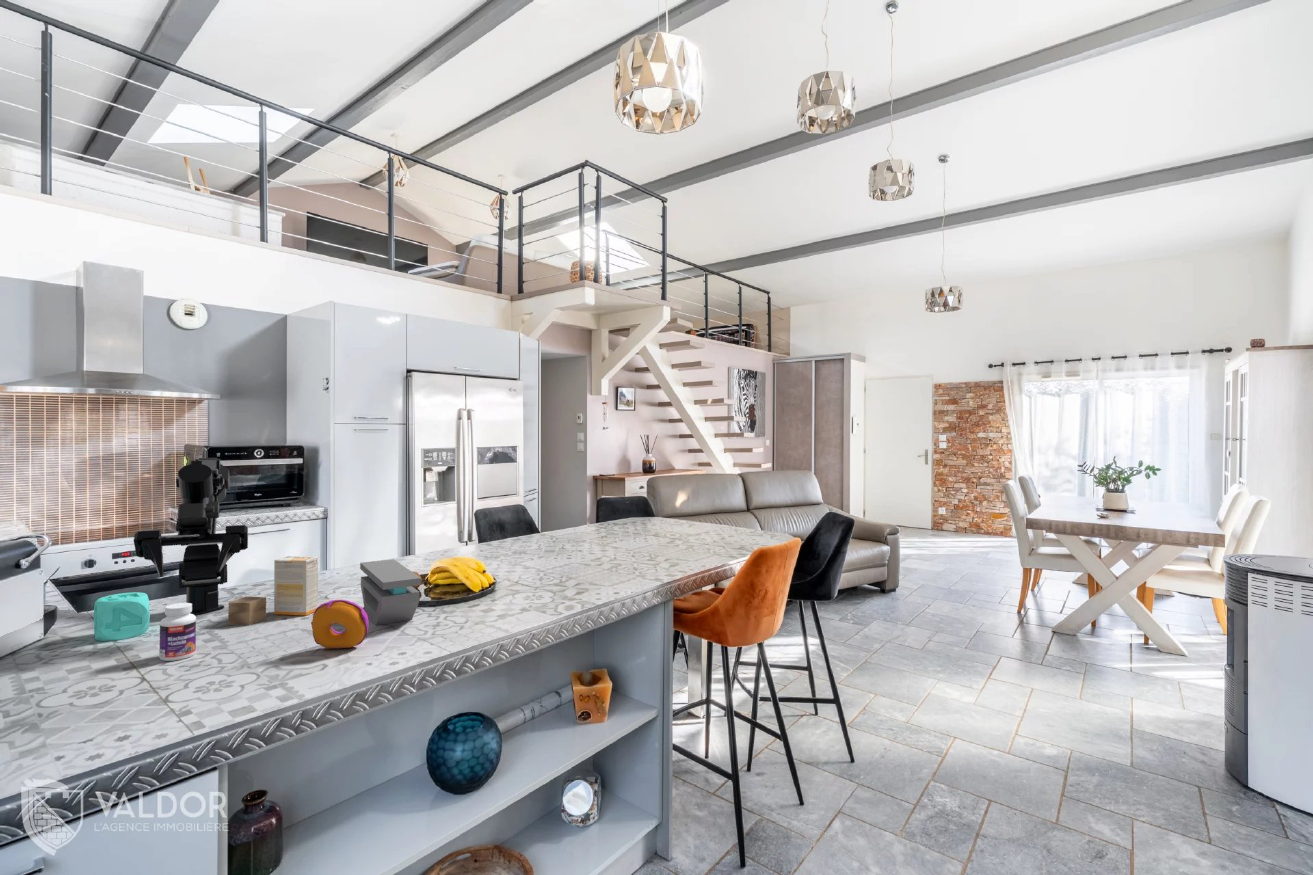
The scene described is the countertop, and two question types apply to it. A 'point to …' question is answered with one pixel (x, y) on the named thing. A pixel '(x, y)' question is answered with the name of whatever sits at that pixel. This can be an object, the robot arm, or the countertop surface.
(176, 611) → the pill bottle
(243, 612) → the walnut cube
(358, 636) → the donut
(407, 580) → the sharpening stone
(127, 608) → the decorative dice
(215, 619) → the countertop surface
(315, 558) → the supplement box
